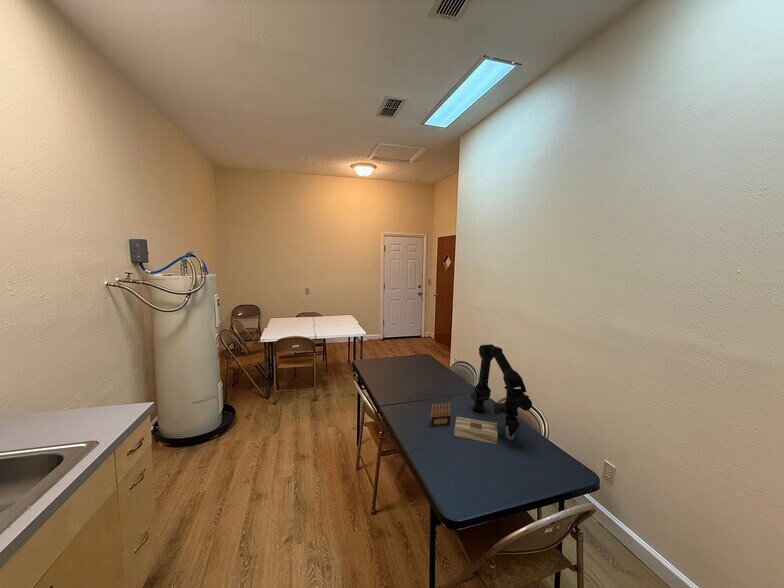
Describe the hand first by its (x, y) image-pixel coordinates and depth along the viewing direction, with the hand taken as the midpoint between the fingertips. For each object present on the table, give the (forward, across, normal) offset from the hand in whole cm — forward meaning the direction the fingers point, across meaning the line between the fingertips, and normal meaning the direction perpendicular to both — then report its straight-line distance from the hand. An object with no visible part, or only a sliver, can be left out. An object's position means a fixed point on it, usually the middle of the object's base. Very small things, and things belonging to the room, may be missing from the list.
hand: (509, 431), depth 155 cm
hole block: (+3, +2, -16) cm, 16 cm away
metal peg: (+3, 0, 0) cm, 3 cm away
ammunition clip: (+4, 0, -34) cm, 34 cm away
